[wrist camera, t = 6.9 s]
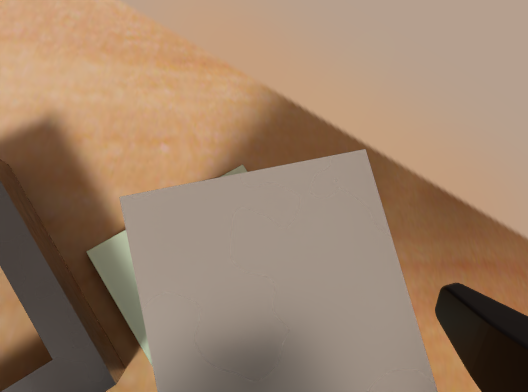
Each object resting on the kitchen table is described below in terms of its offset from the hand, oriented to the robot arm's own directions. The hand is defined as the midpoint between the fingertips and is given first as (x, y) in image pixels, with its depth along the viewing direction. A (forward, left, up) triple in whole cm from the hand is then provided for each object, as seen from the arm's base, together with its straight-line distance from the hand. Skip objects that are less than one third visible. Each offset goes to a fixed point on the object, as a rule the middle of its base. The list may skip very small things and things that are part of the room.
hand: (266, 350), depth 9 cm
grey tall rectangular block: (+1, 0, -7) cm, 7 cm away
